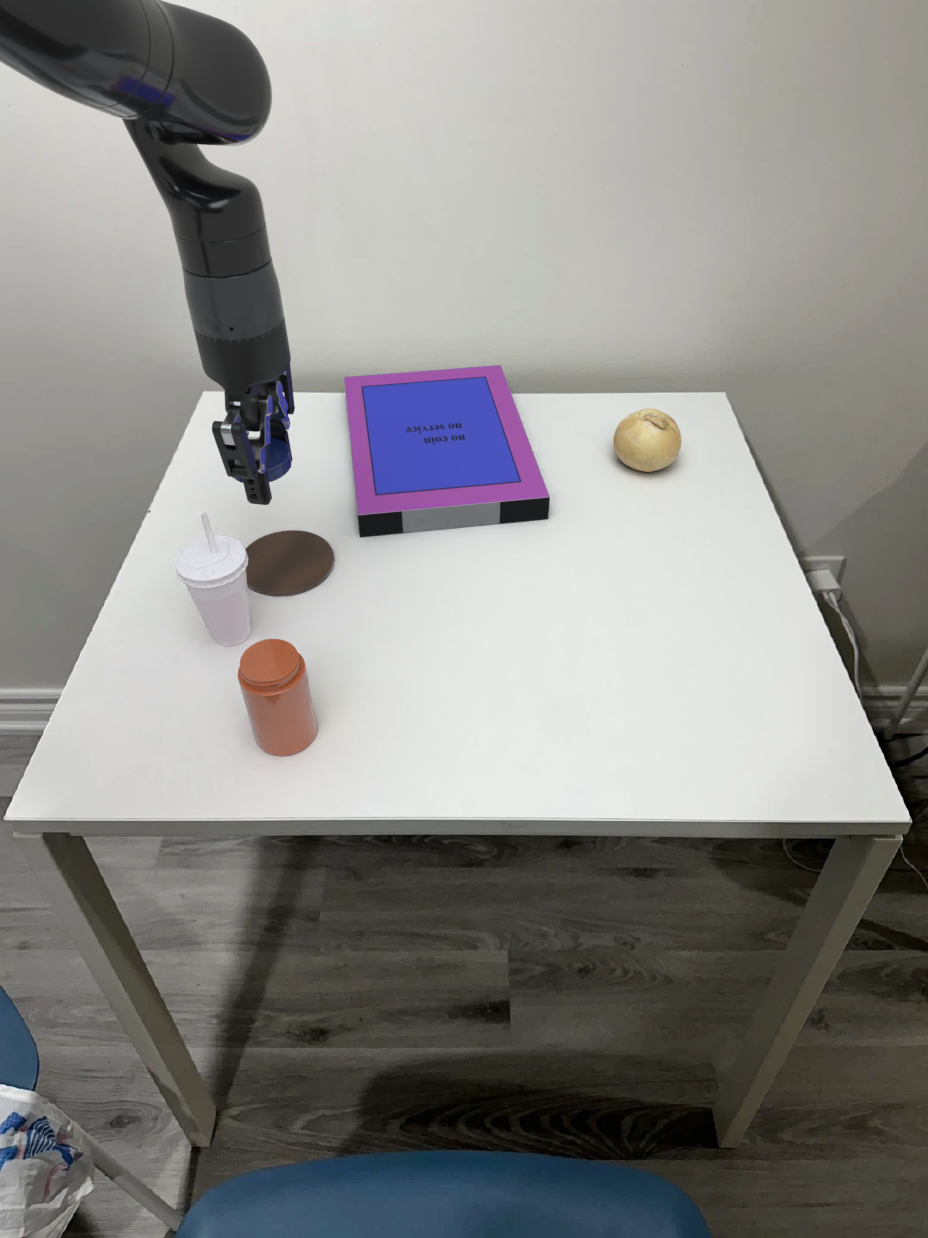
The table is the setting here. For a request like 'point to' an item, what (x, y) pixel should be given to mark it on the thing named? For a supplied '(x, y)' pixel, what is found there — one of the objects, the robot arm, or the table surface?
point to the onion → (647, 440)
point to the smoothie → (217, 583)
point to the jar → (277, 697)
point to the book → (440, 452)
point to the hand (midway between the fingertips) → (271, 481)
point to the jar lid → (275, 459)
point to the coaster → (288, 562)
